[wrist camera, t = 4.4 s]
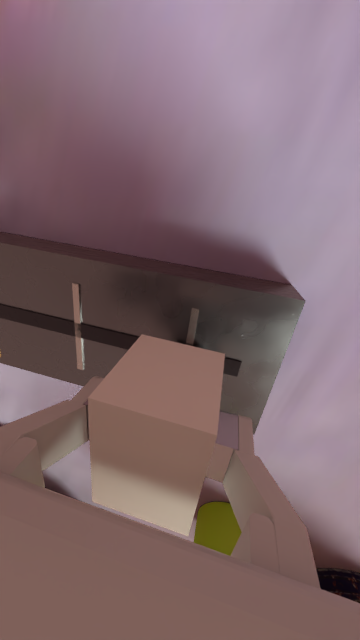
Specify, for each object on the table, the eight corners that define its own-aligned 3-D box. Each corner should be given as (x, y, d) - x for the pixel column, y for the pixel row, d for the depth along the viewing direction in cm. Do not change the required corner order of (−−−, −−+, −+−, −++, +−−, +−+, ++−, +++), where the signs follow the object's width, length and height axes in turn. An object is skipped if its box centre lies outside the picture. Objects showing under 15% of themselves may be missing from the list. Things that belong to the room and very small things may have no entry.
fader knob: (227, 326, 12) (217, 435, 6) (209, 400, 14) (187, 536, 8) (160, 312, 12) (87, 397, 6) (152, 385, 14) (92, 501, 8)
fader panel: (291, 284, 13) (306, 301, 11) (251, 401, 17) (254, 435, 14) (-46, 223, 17) (-101, 223, 14) (-19, 330, 21) (-58, 347, 18)
